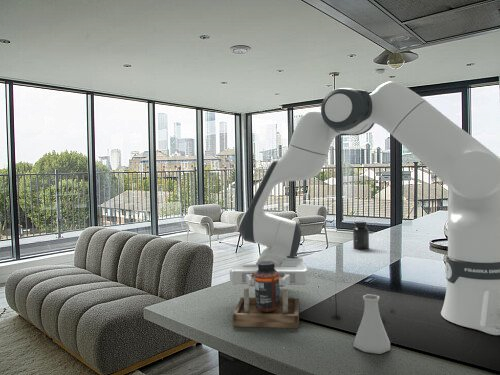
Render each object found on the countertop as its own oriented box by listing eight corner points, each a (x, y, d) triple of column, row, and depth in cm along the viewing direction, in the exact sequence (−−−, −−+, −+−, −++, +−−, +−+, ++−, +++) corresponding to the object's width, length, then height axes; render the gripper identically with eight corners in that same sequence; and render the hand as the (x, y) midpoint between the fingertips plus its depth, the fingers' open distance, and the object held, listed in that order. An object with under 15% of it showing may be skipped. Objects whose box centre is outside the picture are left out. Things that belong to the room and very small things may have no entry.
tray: (299, 309, 98) (298, 277, 97) (298, 328, 86) (297, 291, 85) (241, 308, 100) (240, 276, 99) (232, 326, 88) (231, 290, 87)
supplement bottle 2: (350, 247, 175) (349, 221, 174) (361, 246, 178) (361, 220, 177) (360, 250, 169) (359, 223, 168) (372, 248, 171) (371, 222, 171)
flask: (361, 335, 81) (361, 289, 81) (396, 344, 76) (395, 295, 76) (347, 348, 75) (346, 298, 75) (383, 358, 71) (382, 305, 70)
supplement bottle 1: (278, 304, 96) (277, 259, 95) (281, 312, 90) (280, 264, 89) (255, 305, 95) (253, 260, 95) (256, 313, 90) (254, 265, 89)
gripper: (233, 257, 107) (223, 270, 93) (307, 257, 104) (308, 270, 90) (234, 279, 107) (224, 295, 93) (308, 280, 104) (309, 296, 90)
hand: (266, 283), depth 92 cm, fingers closed on supplement bottle 1, 6 cm apart
